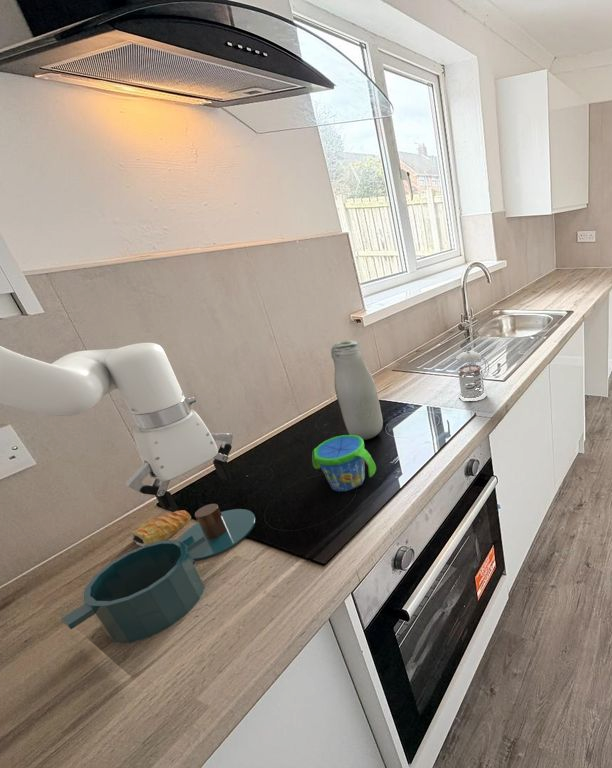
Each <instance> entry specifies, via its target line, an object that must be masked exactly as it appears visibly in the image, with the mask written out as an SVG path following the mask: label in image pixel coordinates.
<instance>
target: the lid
mask: <svg viewBox="0 0 612 768" xmlns="http://www.w3.org/2000/svg"><path fill="white" fill-rule="evenodd" d="M194 517H195V519H196V521H197V523H195V524H194V525H192V526H191V527H190V528H188V529H187V530H186V531H185V532H184V533H183V534H182V535H181V536H180V537H179V538H178V539H177V540H178V541H180V542H183V541H184V540H186V539H187V538H189V537H190V536H192V535H194V534H195V533H198V534H200V535H202V536H204V538H205V540H206V541H205V542H203V543H202V544H200V545H198V546H197V547H195V548H194V549H192V550H191V551H189V552H190V554H191V556H192V558H193V560H194V561H201V560H205V559H209V558H213V557H215V556H218V555H220V554H222V553H224V552H226V551H228V550H230V549H232V548H234V547H235V546H237V545H238V544H239V543H241V542H242V541H243V540H244V539H246V537H248V536H249V534H250V533H251V532H252V531H253V529H254V527H255V526H256V521H257V519H256V516H255V514H254V512H252V511H251V510H249V509H245V508H244V509H243V508H233V509H229V510H224V511H221V510H220V507H219V505H218V504H217V503H210V504H206V505H203V506H201V507H200V508H198V509H197V510H196V511H195V513H194Z"/></svg>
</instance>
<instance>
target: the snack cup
mask: <svg viewBox="0 0 612 768" xmlns="http://www.w3.org/2000/svg"><path fill="white" fill-rule="evenodd" d="M311 460H312V466H313V468H314V470H319V469H321V470H322V472H323V474H324V476H325V478H326V480H327V483H328V484H329V486H330V488H331V489H332V490H333V491H335V492H339V493H340V492H349V491H352V490H354V489H357V488H359V487H360V486H362V485H363V483H364V481H365V479H366V472H365V471H366V469H365V467H366V466H365V464H366V465H367V468H368V469H367V471H368V478H372V477H373V476H374V475H375V473H376V472H377V466H376V463H375V461H374V459H373V458H372V455H371V454H370V453H369V451H368V450H367V449H366V448H365V440H363V439H362V438H361V437H359V436H356V435H350V434H343V435H336V436H333V437H330V438H328V439H326V440H324V441H322V442H321V443H320V444H318V446H316V447H315V448H314V449H313V450H312V452H311Z"/></svg>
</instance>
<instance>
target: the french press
mask: <svg viewBox="0 0 612 768" xmlns="http://www.w3.org/2000/svg"><path fill="white" fill-rule="evenodd" d="M461 326H462V327H464V333H465V334H467V327H468V326H469V323H468V322H467V321H463V322H462V323H461ZM465 340H466V342H468V337H467V335H465ZM466 349H467V351H462V352H461V353H460V354H458V355H456V356H455V360H456V361H457V362H458V363H459V362H460V363H468V364H465V365H462V366H461V367H459V368H458V380H459V388H460V394H461V396H462V397H464V398H476V397H479V396H481V395H482V394H483V393H484V391H485V386H484V385H485V383H484V380H485V379H486V377H487V376H488V375H489V371H490V364H489V361H488V360H487V359H486V358H483V357H482V354H481V353H479V352H477V351H472V350H469V346H468V343H466ZM482 360H483V362H484V365H485V366H484V367H485V368H484V372H483V370H481V369H482V367H481V366H480V365H479V364H471V363H472V362H476V361H477V362H478V363H481V362H482ZM486 372H487V373H486ZM485 374H486V375H485ZM484 375H485V376H484ZM476 388H479V389H477V390H475V389H476ZM480 389H482V391H479V390H480ZM457 398H458V400H459V401H461V402H464V403H466V402H465V401H462V400H460V399H459V396H458V397H457Z"/></svg>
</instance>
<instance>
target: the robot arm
mask: <svg viewBox="0 0 612 768" xmlns="http://www.w3.org/2000/svg"><path fill="white" fill-rule="evenodd" d="M114 390H118V391H119V394H120V395H121V397H122V399H123V401H124V403H125V405H126V407H127V409H128V411H129V413H130V414H131V416H132V418H133V420H134V423H135V424H136V426H137V427H136V428H135V429H133V431H132V433H133V439H134V443H135V446H136V449H137V452H138V455H139V457H140V460H141V463H142V465H141V466H139V468H138V469H137V470H135V472H134V473H133V474H132V475H131V476H130V477H129V478H128V479H127V481H126V482H125V486H126V487H128V488H131V489H133V490H135V491H137V492H139V493H141V494H143V495H149V496H150V495H151V496H155V498H156V500H157V501H158V504H159V505H160V507H161V508H162V509H163V510H165V511H166V510H169V511H171V512H172V513H173V512H175V511H179V506H178V504H177V503H176V501H175V499H174V497H173V494H172V493H171V492H170V491H168V487H169V484H170V483H171V481H172V480H174V479H177V478H179V477H181V476H182V475H185V474H186V473H189V472H190V471H192V470H194V469H196V468H198V467H199V466H201V465H204V464H206V463H208V462H209V461H211V460H212V459H213V460H212V461H213V462H212V464H213V466H214V468H215V470H216V471H215V472H216V473H217V475H218V477H219V478H220V479H222V480H225V481H231V480H232V479H233V478H232V475H231V473H232V469H231V467H230V465H229V462H228V460H229V454H230V452H231V450H232V443H233V438H234V437H233V434H232V433H228V432H216V433H215V432H213V433H211V432H210V430H209V428H208V427H207V425H206V424H205V422H204V421H203V419H202V418H201V416H200V415H199V414H198V413H197V412H196V410H194V409H192V408H191V405H192V404H194V403H196V402H197V400H196V398H195V397H194V395H190V396H185V393H184V392H183V390H182V388H181V385H180V383H179V381H178V379H177V376H176V374H175V371H174V369H173V367H172V365H171V363H170V360H169V358H168V356H167V354H166V352H165V350H164V348H163V347H162V346H161V345H160V344H158V343H155V342H141V343H140V342H138V343H133V344H128V345H124V346H121V347H117V348H110V349H109V348H106V349H88V350H79V351H74V352H73V351H72V352H70V353H67V354H65V355H63V356H61V357H59V359H57V360H54V361H53V362H52V363H49V362H46V361H43V360H39V359H36V358H32V357H29V356H26V355H23V354H20V353H18V352H16V351H14V350H10V349H8V348H6V347H3V346H2V345H0V404H1V405H5V406H9V407H13V408H15V409H20V410H23V411H28V412H32V413H35V414H42V415H47V416H56V417H66V416H67V417H68V416H75V415H76V416H77V415H79V414H82V413H85V412H87V411H89V410H91V409H92V408H94V406H96V405H97V404H98V403H99V402H100V401H101V400H102V399H103V398H104V396H106V395H108V394H109V393H111V392H112V391H114ZM216 441H217V442H218V441H221V444H220V447H219V448H218V445H217V443H216ZM147 476H149V477H150V478H153V479H152V481H151V484H150V485H147V484H144V483H142V482H143V481H144V479H145V478H146V477H147Z"/></svg>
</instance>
